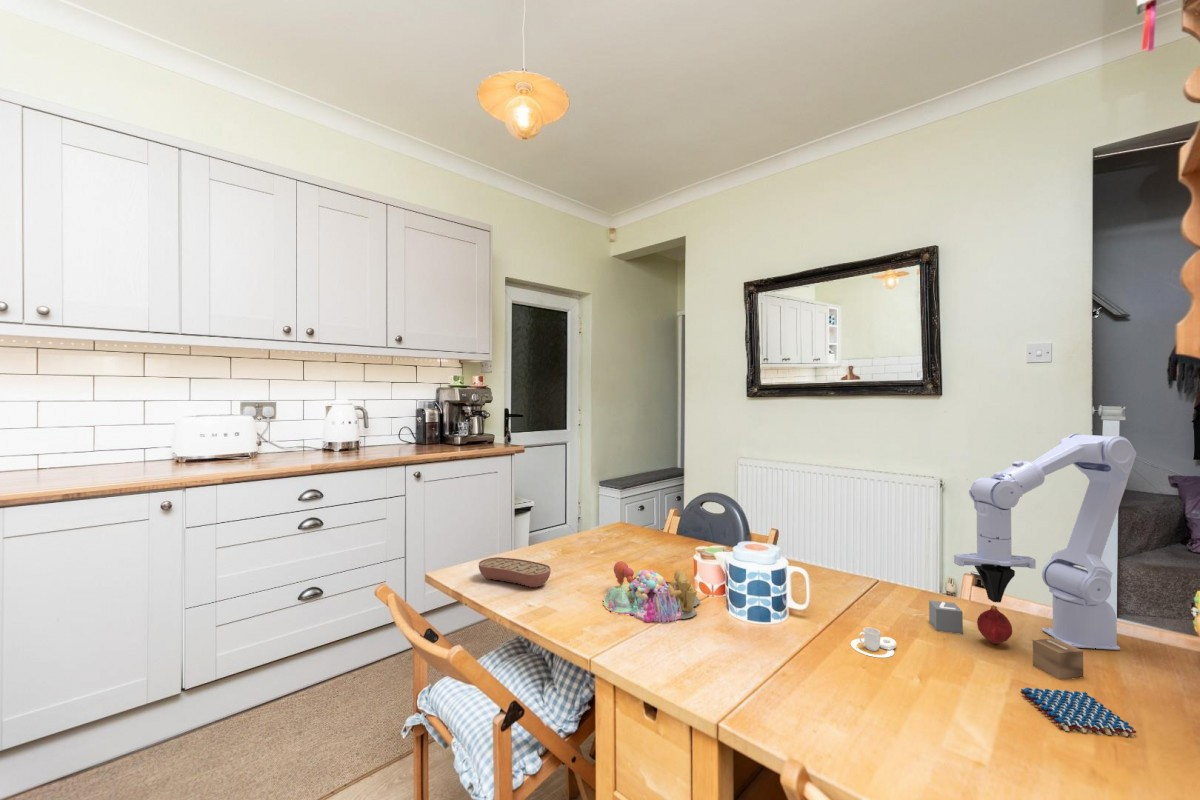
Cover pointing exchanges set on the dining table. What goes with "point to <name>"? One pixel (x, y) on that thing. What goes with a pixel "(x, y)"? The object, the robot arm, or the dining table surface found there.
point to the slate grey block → (946, 616)
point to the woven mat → (1077, 712)
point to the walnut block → (1058, 658)
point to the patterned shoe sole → (515, 571)
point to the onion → (994, 626)
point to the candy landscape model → (651, 595)
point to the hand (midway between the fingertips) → (994, 600)
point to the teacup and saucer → (874, 643)
